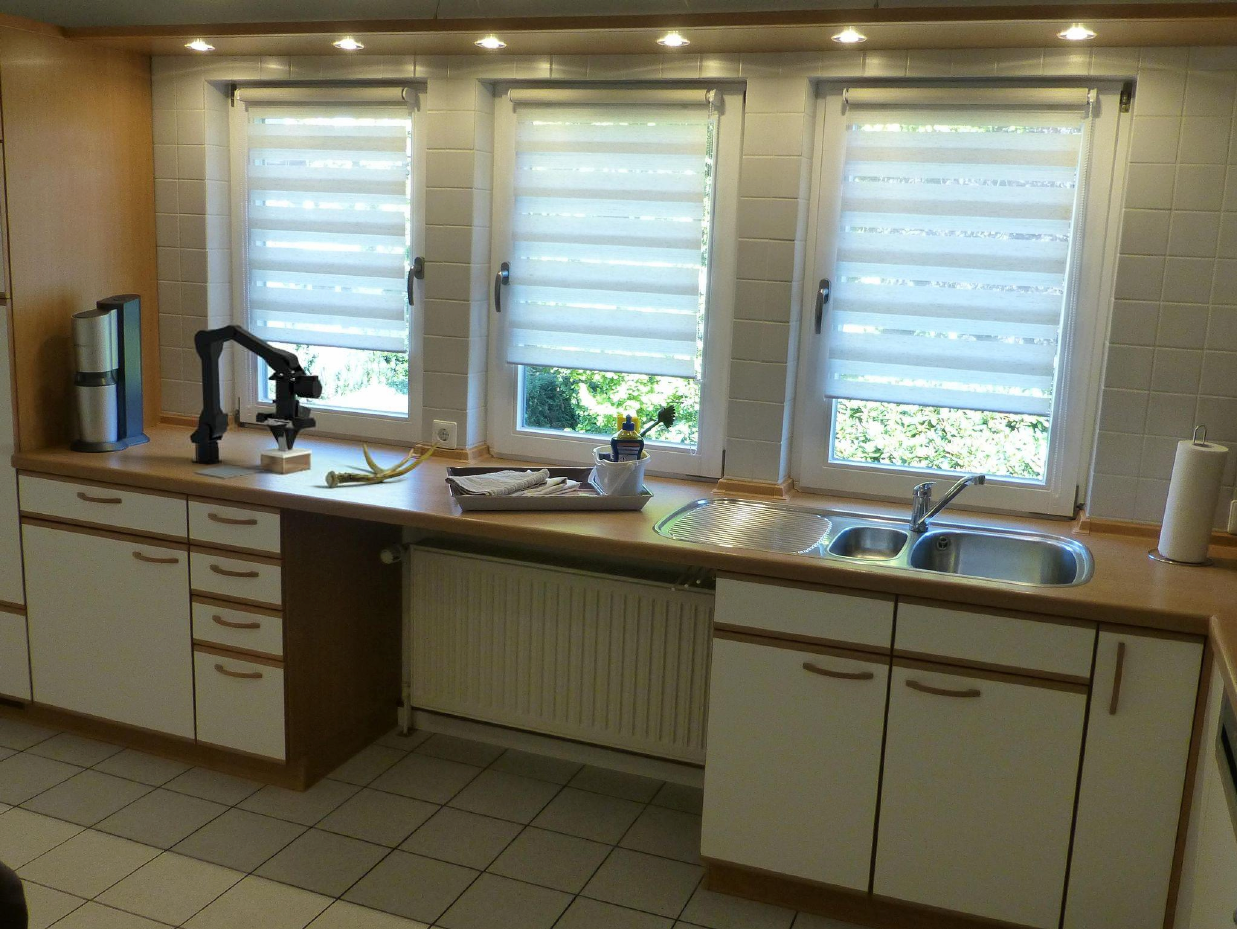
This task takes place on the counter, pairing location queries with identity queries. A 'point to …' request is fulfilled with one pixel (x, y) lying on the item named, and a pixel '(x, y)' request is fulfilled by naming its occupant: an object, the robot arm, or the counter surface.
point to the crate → (285, 463)
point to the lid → (284, 450)
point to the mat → (226, 471)
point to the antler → (376, 470)
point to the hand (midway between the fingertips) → (285, 448)
